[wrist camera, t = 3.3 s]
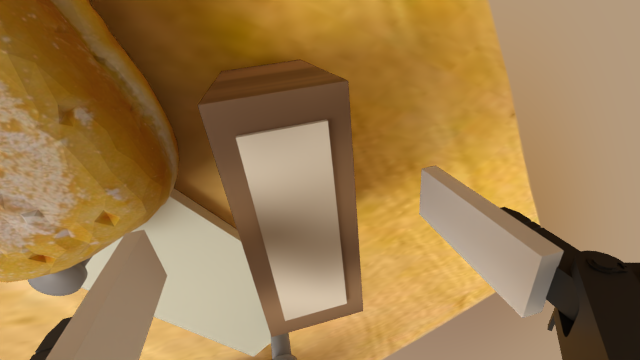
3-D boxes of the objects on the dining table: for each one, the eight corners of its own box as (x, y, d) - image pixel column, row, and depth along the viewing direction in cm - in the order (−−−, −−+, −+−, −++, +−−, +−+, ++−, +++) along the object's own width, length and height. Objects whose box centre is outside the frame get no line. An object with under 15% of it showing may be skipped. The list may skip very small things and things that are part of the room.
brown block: (221, 71, 18) (196, 106, 9) (300, 59, 18) (350, 81, 10) (262, 225, 23) (271, 340, 14) (321, 211, 24) (364, 314, 15)
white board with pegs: (126, 157, 19) (83, 201, 14) (323, 286, 28) (340, 340, 23) (38, 253, 20) (-30, 325, 15) (253, 345, 30) (254, 407, 25)
